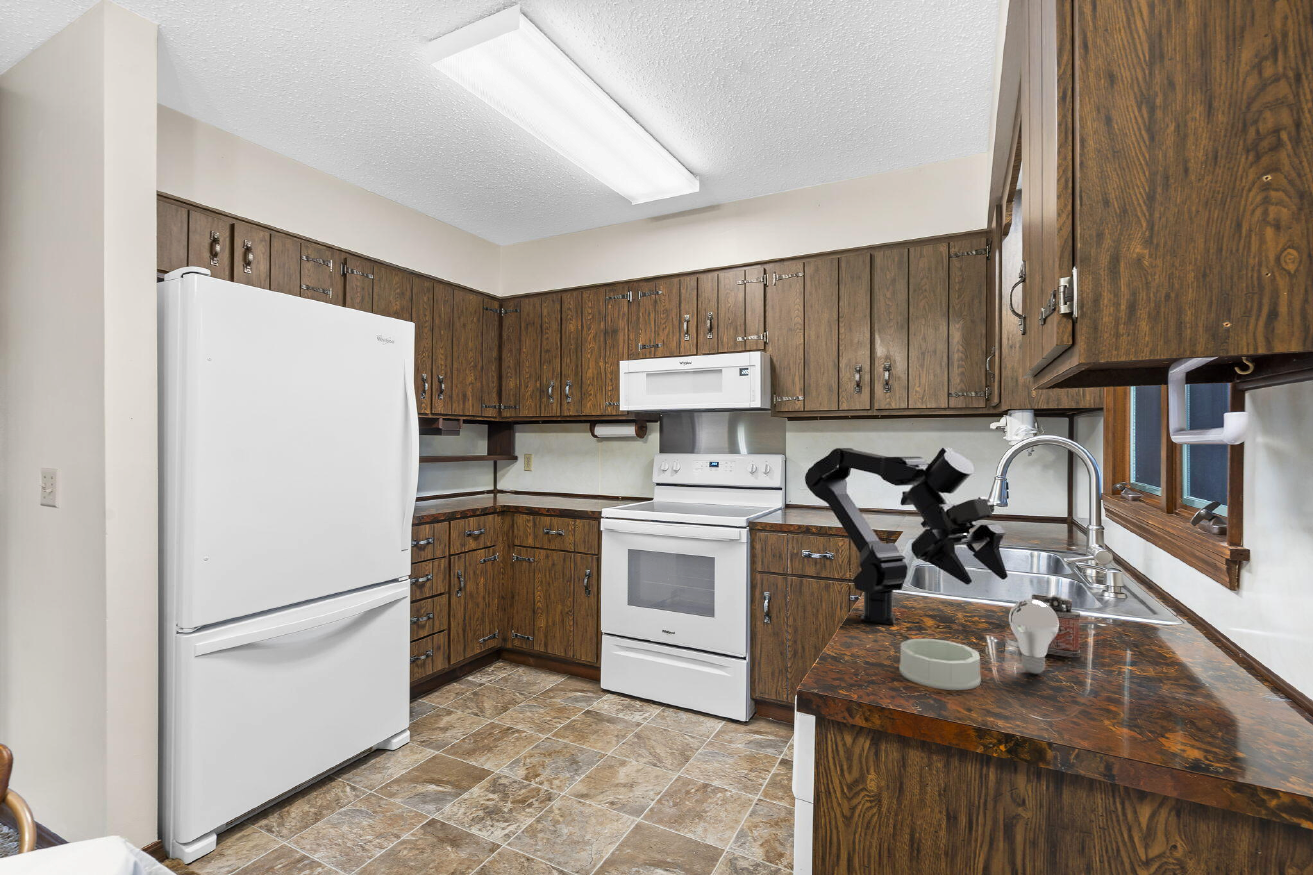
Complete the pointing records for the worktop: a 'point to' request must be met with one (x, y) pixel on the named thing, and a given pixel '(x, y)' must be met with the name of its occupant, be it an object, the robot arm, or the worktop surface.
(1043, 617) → the light bulb
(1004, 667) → the worktop surface
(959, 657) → the bulb holder
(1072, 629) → the lighter
